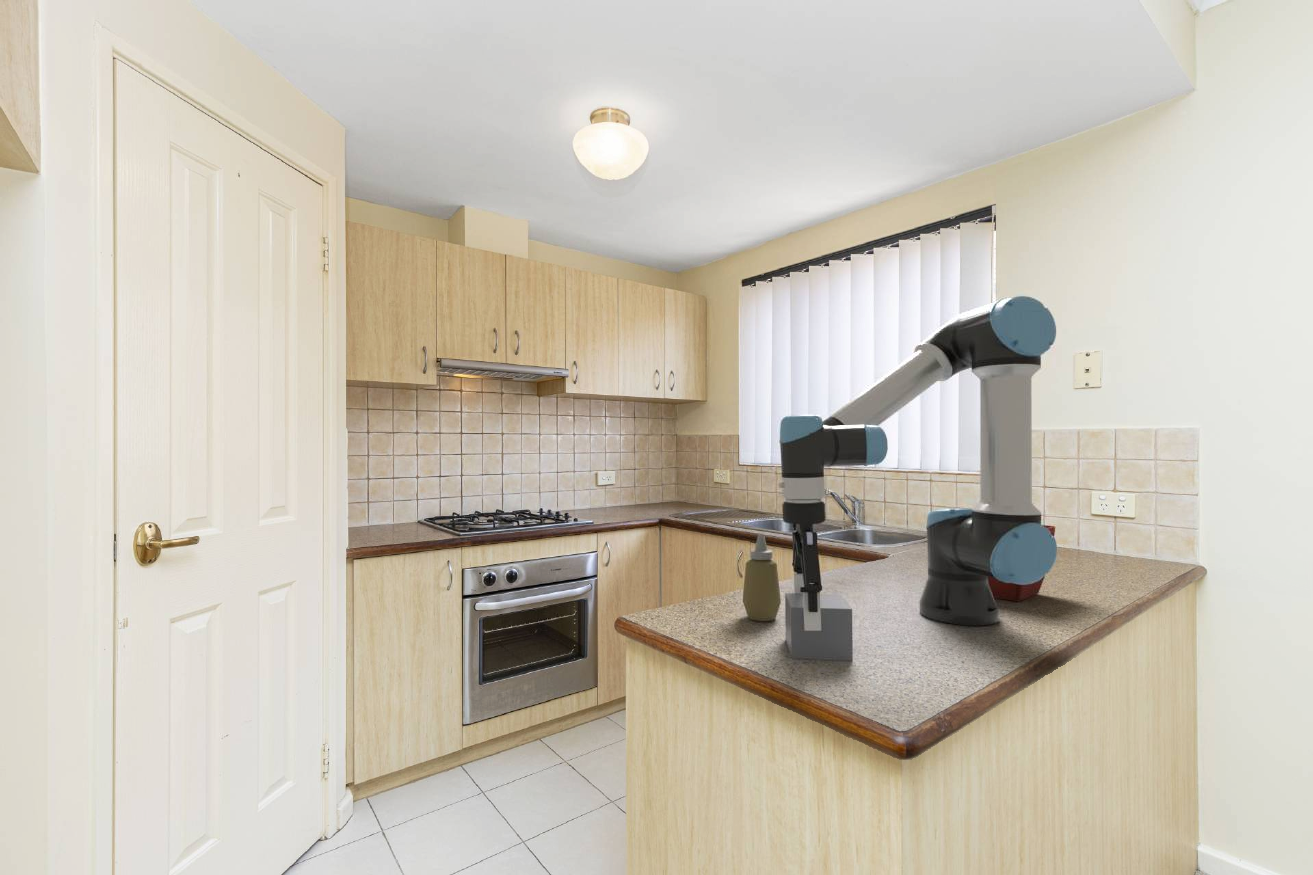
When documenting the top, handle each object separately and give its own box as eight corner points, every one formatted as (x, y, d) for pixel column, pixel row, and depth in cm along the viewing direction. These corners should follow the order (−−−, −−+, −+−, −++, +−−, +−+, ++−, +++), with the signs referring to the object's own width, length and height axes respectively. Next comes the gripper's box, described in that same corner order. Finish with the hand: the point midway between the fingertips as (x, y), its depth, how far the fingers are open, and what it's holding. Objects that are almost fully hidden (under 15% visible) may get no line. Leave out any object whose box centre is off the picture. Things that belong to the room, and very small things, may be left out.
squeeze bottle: (781, 624, 121) (780, 536, 122) (741, 622, 123) (740, 535, 123) (780, 614, 129) (780, 531, 130) (743, 612, 131) (743, 530, 131)
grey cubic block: (841, 641, 111) (840, 594, 111) (852, 660, 101) (852, 608, 101) (785, 639, 112) (785, 592, 112) (791, 658, 102) (791, 607, 102)
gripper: (776, 495, 120) (779, 600, 120) (789, 508, 95) (793, 640, 95) (814, 494, 119) (817, 600, 119) (837, 507, 94) (842, 641, 94)
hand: (807, 618), depth 107 cm, fingers open, 13 cm apart
